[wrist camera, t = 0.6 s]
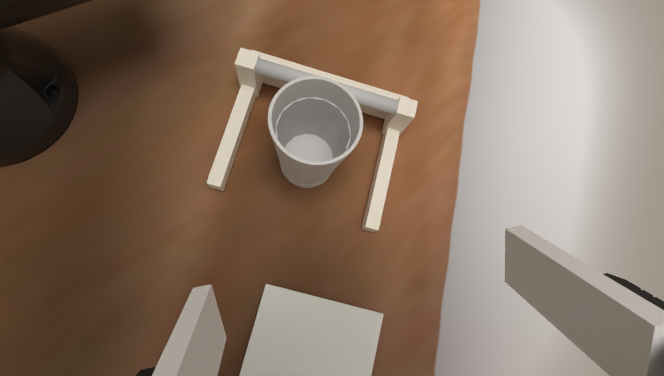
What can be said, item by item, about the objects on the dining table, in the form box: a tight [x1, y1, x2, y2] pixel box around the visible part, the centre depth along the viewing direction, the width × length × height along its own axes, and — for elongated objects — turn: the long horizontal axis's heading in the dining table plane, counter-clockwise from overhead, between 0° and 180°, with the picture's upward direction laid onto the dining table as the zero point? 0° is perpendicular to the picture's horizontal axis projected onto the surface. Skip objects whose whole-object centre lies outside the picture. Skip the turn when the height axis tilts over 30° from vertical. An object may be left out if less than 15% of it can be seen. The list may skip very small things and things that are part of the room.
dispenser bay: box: [206, 48, 418, 232], centre depth 38 cm, size 16×20×6 cm
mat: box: [239, 284, 384, 376], centre depth 35 cm, size 13×13×1 cm
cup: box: [268, 76, 363, 188], centre depth 34 cm, size 8×8×12 cm
